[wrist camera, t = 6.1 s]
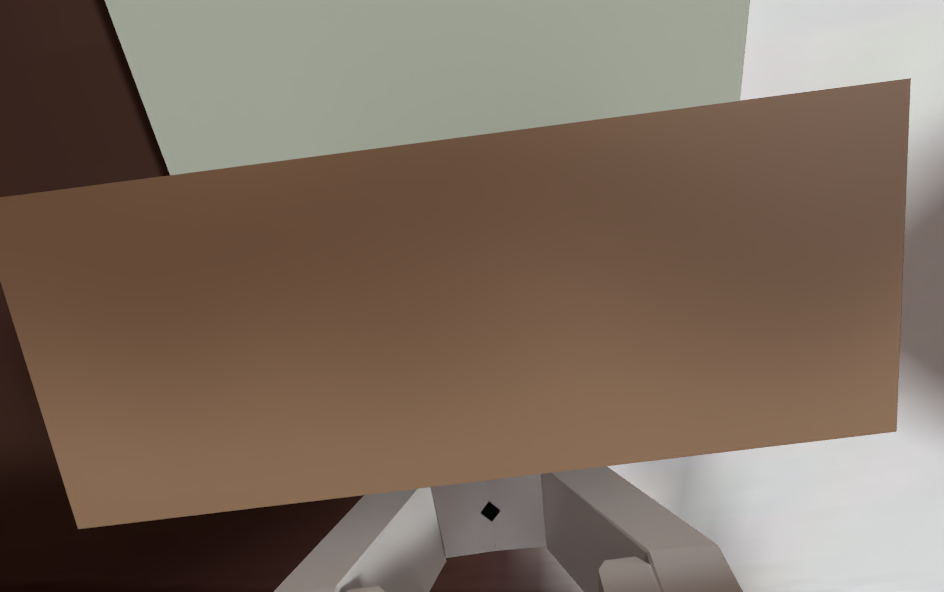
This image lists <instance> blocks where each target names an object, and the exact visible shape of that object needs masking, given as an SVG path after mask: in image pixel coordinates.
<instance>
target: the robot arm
mask: <svg viewBox="0 0 944 592" xmlns="http://www.w3.org/2000/svg"><path fill="white" fill-rule="evenodd" d="M544 546H547V549H548V550H549V551H550V552H551V554H552V555H553V556H554V557H555V558H556V559H557V561H558V562H559V563H560V564H561V565H562V566H563V568H564V569H565V570H566V571H567V572H568V573H569V575H570V576H571V577H572V578H573V579H574V580H575V582H576V583H577V584H578V585H579V586H580V587H581V589H582V590H583V591H584V592H743V591H742V589H741V587H740V585H739V584H738V582H737V580H736V578H735V576H734V574H733V572H732V571H731V569H730V567H729V565H728V563H727V561H726V560H725V558H724V556H723V554H722V552H721V550H720V548H719V547H718V545H717V544H715V543H714V542H713V541H711V540H710V539H708V538H707V537H706V536H704V535H703V534H701V533H700V532H699V531H697V530H696V529H694V528H693V527H691V526H690V525H689V524H687V523H686V522H684V521H683V520H682V519H680V518H679V517H677V516H676V515H675V514H673V513H672V512H670V511H669V510H668V509H666V508H665V507H663V506H662V505H660V504H659V503H658V502H656V501H655V500H653V499H652V498H651V497H649V496H648V495H646V494H645V493H644V492H642V491H641V490H639V489H638V488H637V487H635V486H634V485H632V484H631V483H630V482H628V481H627V480H625V479H624V478H622V477H621V476H620V475H618V474H617V473H615V472H614V471H613V470H611V469H610V468H608V467H607V466H603V467H595V468H586V469H578V470H569V471H561V472H553V473H544V474H536V475H528V476H519V477H511V478H502V479H494V480H486V481H477V482H469V483H461V484H452V485H444V486H435V487H427V488H419V489H410V490H402V491H394V492H385V493H377V494H369V495H364V496H363V497H362V498H361V499H360V500H359V501H358V502H357V503H356V504H355V506H354V507H353V508H352V509H351V510H350V511H349V512H348V513H347V514H346V515H345V516H344V517H343V518H342V519H341V520H340V522H339V523H338V524H337V525H336V526H335V527H334V528H333V529H332V530H331V531H330V532H329V533H328V534H327V535H326V536H325V538H324V539H323V540H322V541H321V542H320V543H319V544H318V545H317V546H316V547H315V548H314V549H313V550H312V551H311V552H310V553H309V555H308V556H307V557H306V558H305V559H304V560H303V561H302V562H301V563H300V564H299V565H298V566H297V567H296V568H295V569H294V571H293V572H292V573H291V574H290V575H289V576H288V577H287V578H286V579H285V580H284V581H283V582H282V583H281V584H280V585H279V587H278V588H277V589H276V590H275V591H274V592H429V591H430V589H431V587H432V586H433V584H434V582H435V580H436V578H437V577H438V575H439V573H440V571H441V569H442V568H443V566H444V564H445V562H446V559H445V558H449V557H456V556H462V555H469V554H476V553H483V552H490V551H498V550H509V549H521V548H532V547H544Z"/></svg>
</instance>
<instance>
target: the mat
mask: <svg viewBox="0 0 944 592" xmlns="http://www.w3.org/2000/svg"><path fill="white" fill-rule="evenodd" d="M105 3H106V6H107V8H108V11H109V14H110V16H111V19H112V22H113V24H114V27H115V30H116V32H117V35H118V38H119V40H120V43H121V46H122V48H123V51H124V54H125V56H126V59H127V62H128V64H129V67H130V70H131V72H132V75H133V78H134V80H135V83H136V86H137V88H138V91H139V94H140V96H141V99H142V102H143V104H144V107H145V110H146V112H147V115H148V118H149V120H150V123H151V126H152V128H153V131H154V134H155V136H156V139H157V142H158V144H159V147H160V150H161V152H162V155H163V158H164V160H165V163H166V166H167V168H168V171H169V174H170V175H177V174H185V173H192V172H200V171H208V170H215V169H223V168H230V167H238V166H246V165H253V164H261V163H269V162H276V161H284V160H292V159H299V158H307V157H314V156H322V155H330V154H337V153H345V152H353V151H360V150H368V149H376V148H383V147H391V146H399V145H406V144H414V143H421V142H429V141H437V140H444V139H452V138H460V137H467V136H475V135H483V134H490V133H498V132H505V131H513V130H521V129H528V128H536V127H544V126H551V125H559V124H567V123H574V122H582V121H590V120H597V119H605V118H612V117H620V116H628V115H635V114H643V113H651V112H658V111H666V110H674V109H681V108H689V107H697V106H704V105H712V104H719V103H727V102H735V101H740V94H741V84H742V74H743V64H744V54H745V44H746V34H747V24H748V14H749V4H750V0H105Z"/></svg>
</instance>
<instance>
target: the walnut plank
mask: <svg viewBox="0 0 944 592" xmlns="http://www.w3.org/2000/svg"><path fill="white" fill-rule="evenodd" d="M910 80H911V78H910V79H903V80H895V81H888V82H880V83H872V84H865V85H857V86H849V87H842V88H834V89H826V90H819V91H811V92H803V93H796V94H788V95H781V96H773V97H765V98H758V99H750V100H742V101H735V102H727V103H719V104H712V105H704V106H697V107H689V108H681V109H674V110H666V111H658V112H651V113H643V114H635V115H628V116H620V117H612V118H605V119H597V120H590V121H582V122H574V123H567V124H559V125H551V126H544V127H536V128H528V129H521V130H513V131H505V132H498V133H490V134H483V135H475V136H467V137H460V138H452V139H444V140H437V141H429V142H421V143H414V144H406V145H399V146H391V147H383V148H376V149H368V150H360V151H353V152H345V153H337V154H330V155H322V156H314V157H307V158H299V159H292V160H284V161H276V162H269V163H261V164H253V165H246V166H238V167H230V168H223V169H215V170H208V171H200V172H192V173H185V174H177V175H169V176H162V177H154V178H146V179H139V180H131V181H123V182H116V183H108V184H101V185H93V186H85V187H78V188H70V189H62V190H55V191H47V192H39V193H32V194H24V195H17V196H9V197H1V198H0V281H1V285H2V288H3V291H4V294H5V297H6V300H7V304H8V307H9V310H10V313H11V316H12V320H13V323H14V326H15V329H16V332H17V336H18V339H19V342H20V345H21V348H22V352H23V355H24V358H25V361H26V364H27V368H28V371H29V374H30V377H31V380H32V384H33V387H34V390H35V393H36V396H37V400H38V403H39V406H40V409H41V412H42V416H43V419H44V422H45V425H46V428H47V432H48V435H49V438H50V441H51V444H52V447H53V451H54V454H55V457H56V460H57V463H58V467H59V470H60V473H61V476H62V479H63V483H64V486H65V489H66V492H67V495H68V499H69V502H70V505H71V508H72V511H73V515H74V518H75V521H76V524H77V527H78V529H84V528H92V527H101V526H109V525H117V524H126V523H134V522H143V521H151V520H159V519H168V518H176V517H184V516H193V515H201V514H209V513H218V512H226V511H235V510H243V509H251V508H260V507H268V506H276V505H285V504H293V503H302V502H310V501H318V500H327V499H335V498H343V497H352V496H360V495H369V494H377V493H385V492H394V491H402V490H410V489H419V488H427V487H435V486H444V485H452V484H461V483H469V482H477V481H486V480H494V479H502V478H511V477H519V476H528V475H536V474H544V473H553V472H561V471H569V470H578V469H586V468H595V467H603V466H611V465H620V464H628V463H636V462H645V461H653V460H661V459H670V458H678V457H687V456H695V455H703V454H712V453H720V452H728V451H737V450H745V449H754V448H762V447H770V446H779V445H787V444H795V443H804V442H812V441H821V440H829V439H837V438H846V437H854V436H862V435H871V434H879V433H887V432H896V427H897V403H898V378H899V353H900V328H901V303H902V279H903V254H904V229H905V204H906V179H907V154H908V130H909V105H910Z"/></svg>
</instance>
